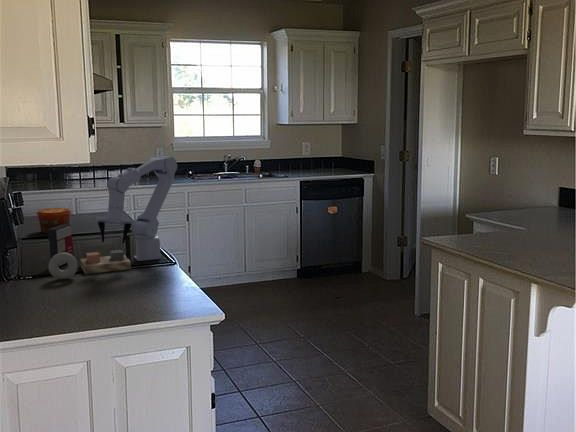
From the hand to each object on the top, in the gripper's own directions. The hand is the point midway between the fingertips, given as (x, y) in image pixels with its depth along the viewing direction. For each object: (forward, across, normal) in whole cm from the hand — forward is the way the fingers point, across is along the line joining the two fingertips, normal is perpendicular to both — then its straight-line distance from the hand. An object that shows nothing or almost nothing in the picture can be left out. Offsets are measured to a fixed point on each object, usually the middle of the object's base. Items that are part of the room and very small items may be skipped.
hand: (113, 242), depth 237 cm
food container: (+6, -24, +77) cm, 81 cm away
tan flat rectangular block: (+10, -2, 0) cm, 10 cm away
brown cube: (+9, -7, -1) cm, 11 cm away
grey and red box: (+11, -18, +11) cm, 24 cm away
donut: (+13, -17, -12) cm, 25 cm away
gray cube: (+8, +2, +1) cm, 8 cm away
